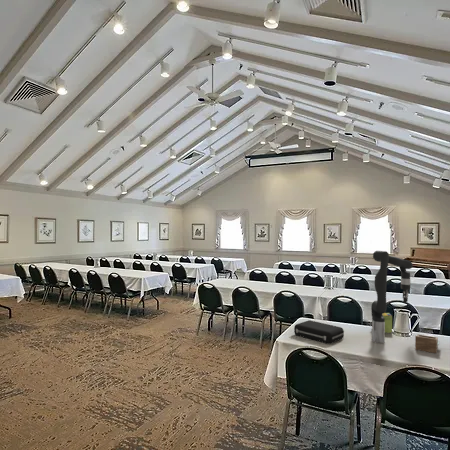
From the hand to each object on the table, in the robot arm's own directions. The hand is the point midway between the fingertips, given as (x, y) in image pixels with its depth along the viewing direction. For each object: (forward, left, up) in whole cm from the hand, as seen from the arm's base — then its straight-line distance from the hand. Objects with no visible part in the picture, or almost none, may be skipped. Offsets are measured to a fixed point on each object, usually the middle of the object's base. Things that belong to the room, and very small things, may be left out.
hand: (405, 302), depth 306 cm
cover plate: (+12, -14, -31) cm, 36 cm away
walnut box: (-1, -29, -30) cm, 42 cm away
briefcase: (-73, +8, -31) cm, 80 cm away
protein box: (-10, +20, -30) cm, 38 cm away
